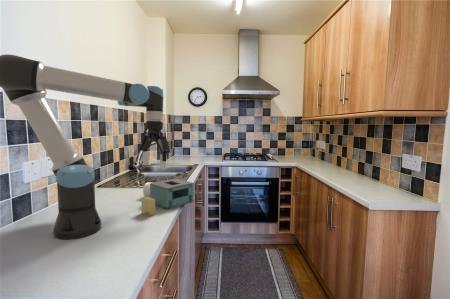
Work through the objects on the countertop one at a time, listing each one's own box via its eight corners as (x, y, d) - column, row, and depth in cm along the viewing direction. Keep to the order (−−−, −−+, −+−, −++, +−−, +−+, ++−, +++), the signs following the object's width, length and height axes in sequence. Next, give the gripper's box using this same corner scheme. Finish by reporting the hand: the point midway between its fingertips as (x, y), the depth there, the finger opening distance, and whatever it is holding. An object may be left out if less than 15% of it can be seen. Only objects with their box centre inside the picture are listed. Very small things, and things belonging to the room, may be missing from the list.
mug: (160, 200, 131) (160, 185, 131) (142, 198, 133) (142, 184, 133) (170, 194, 143) (169, 180, 142) (153, 193, 145) (153, 179, 144)
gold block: (155, 214, 110) (155, 199, 109) (149, 216, 108) (148, 200, 107) (147, 211, 114) (147, 196, 113) (141, 213, 112) (141, 197, 111)
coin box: (167, 209, 117) (166, 188, 116) (150, 203, 126) (150, 183, 125) (193, 202, 129) (193, 182, 128) (176, 196, 138) (176, 178, 137)
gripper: (178, 121, 111) (177, 169, 113) (146, 121, 127) (145, 162, 129) (164, 120, 106) (164, 171, 107) (132, 120, 121) (132, 164, 123)
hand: (154, 166), depth 118 cm, fingers open, 13 cm apart
